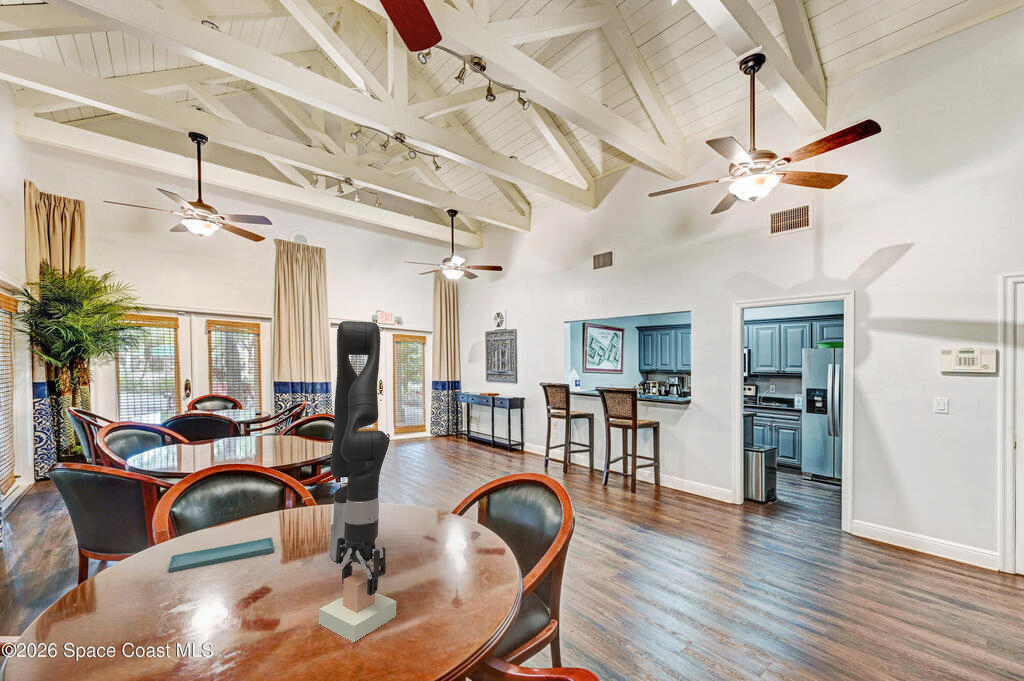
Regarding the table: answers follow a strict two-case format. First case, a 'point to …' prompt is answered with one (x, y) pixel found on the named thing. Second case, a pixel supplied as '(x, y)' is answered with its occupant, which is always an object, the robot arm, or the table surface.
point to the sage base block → (357, 617)
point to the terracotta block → (357, 592)
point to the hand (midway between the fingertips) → (359, 588)
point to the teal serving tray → (220, 554)
